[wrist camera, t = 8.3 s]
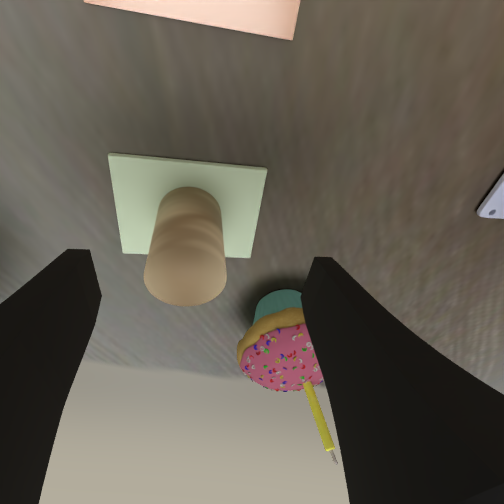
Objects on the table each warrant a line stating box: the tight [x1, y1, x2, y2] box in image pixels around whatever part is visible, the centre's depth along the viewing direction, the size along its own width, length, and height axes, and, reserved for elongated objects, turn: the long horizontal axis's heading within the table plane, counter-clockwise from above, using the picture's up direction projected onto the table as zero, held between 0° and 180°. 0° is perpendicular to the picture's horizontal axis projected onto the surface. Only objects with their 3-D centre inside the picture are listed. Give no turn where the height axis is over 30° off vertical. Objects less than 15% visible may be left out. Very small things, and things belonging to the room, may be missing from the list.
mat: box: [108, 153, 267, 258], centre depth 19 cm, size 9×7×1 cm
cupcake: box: [237, 289, 338, 465], centre depth 23 cm, size 9×8×12 cm
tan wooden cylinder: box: [144, 187, 227, 306], centre depth 17 cm, size 4×4×6 cm
